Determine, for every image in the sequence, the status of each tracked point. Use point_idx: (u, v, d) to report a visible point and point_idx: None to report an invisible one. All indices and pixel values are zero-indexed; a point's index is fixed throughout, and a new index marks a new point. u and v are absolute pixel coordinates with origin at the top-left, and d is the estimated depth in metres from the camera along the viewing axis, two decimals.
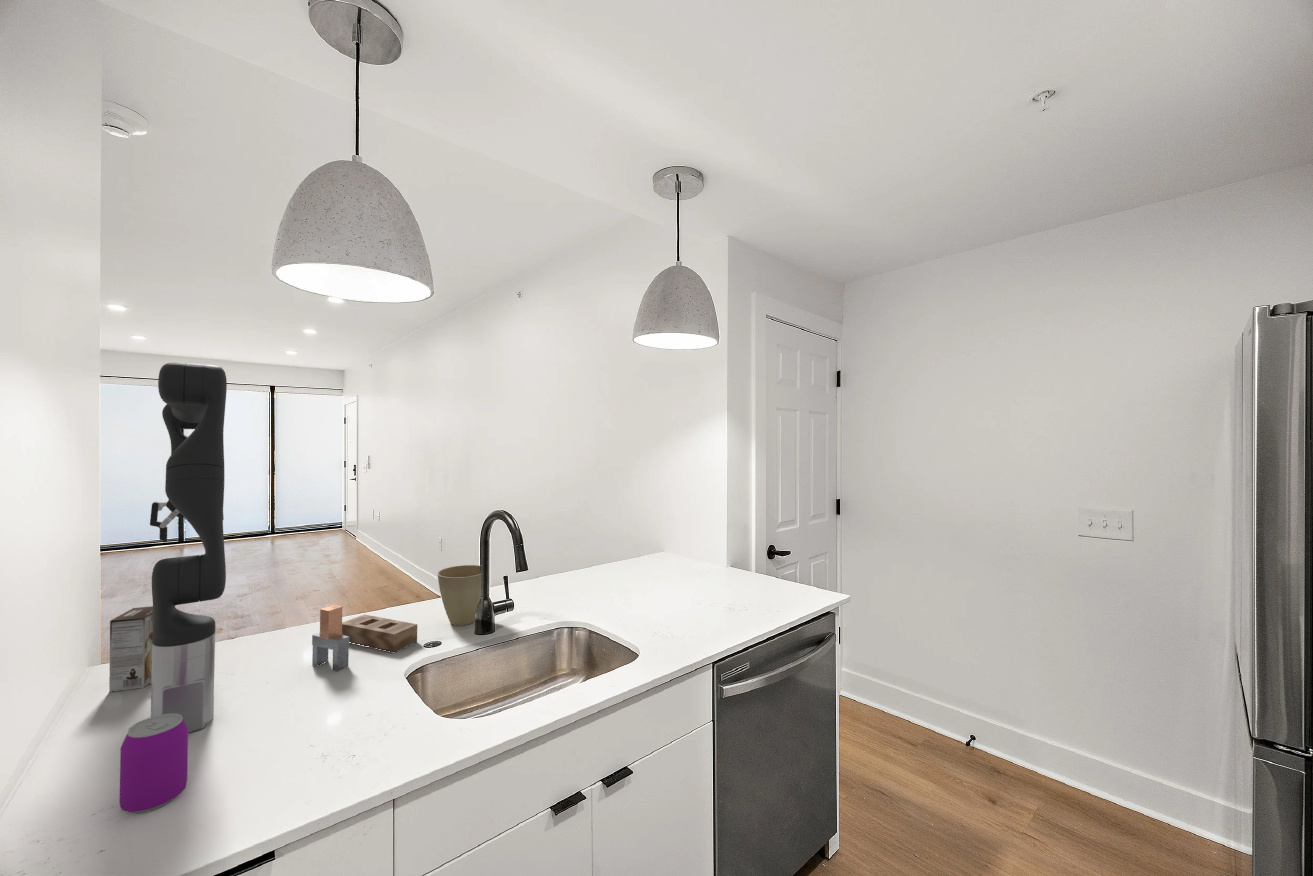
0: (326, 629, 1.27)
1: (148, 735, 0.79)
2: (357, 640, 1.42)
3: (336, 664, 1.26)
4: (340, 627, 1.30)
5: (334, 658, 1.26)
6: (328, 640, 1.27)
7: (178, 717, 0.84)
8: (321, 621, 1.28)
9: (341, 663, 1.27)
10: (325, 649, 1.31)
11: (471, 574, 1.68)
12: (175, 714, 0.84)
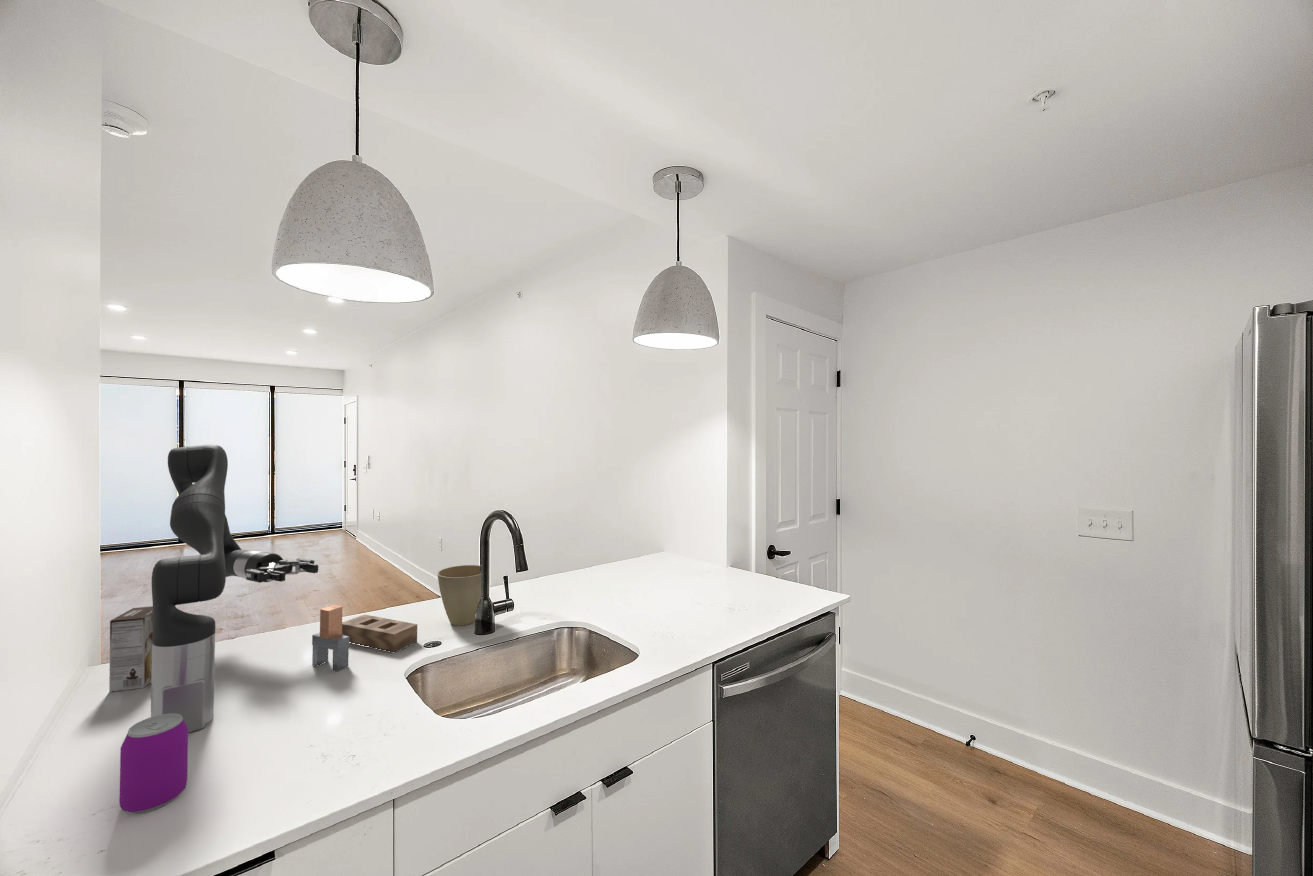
0: (326, 629, 1.27)
1: (148, 735, 0.79)
2: (357, 640, 1.42)
3: (336, 664, 1.26)
4: (340, 627, 1.30)
5: (334, 658, 1.26)
6: (328, 640, 1.27)
7: (178, 717, 0.84)
8: (321, 621, 1.28)
9: (341, 663, 1.27)
10: (325, 649, 1.31)
11: (471, 574, 1.68)
12: (175, 714, 0.84)
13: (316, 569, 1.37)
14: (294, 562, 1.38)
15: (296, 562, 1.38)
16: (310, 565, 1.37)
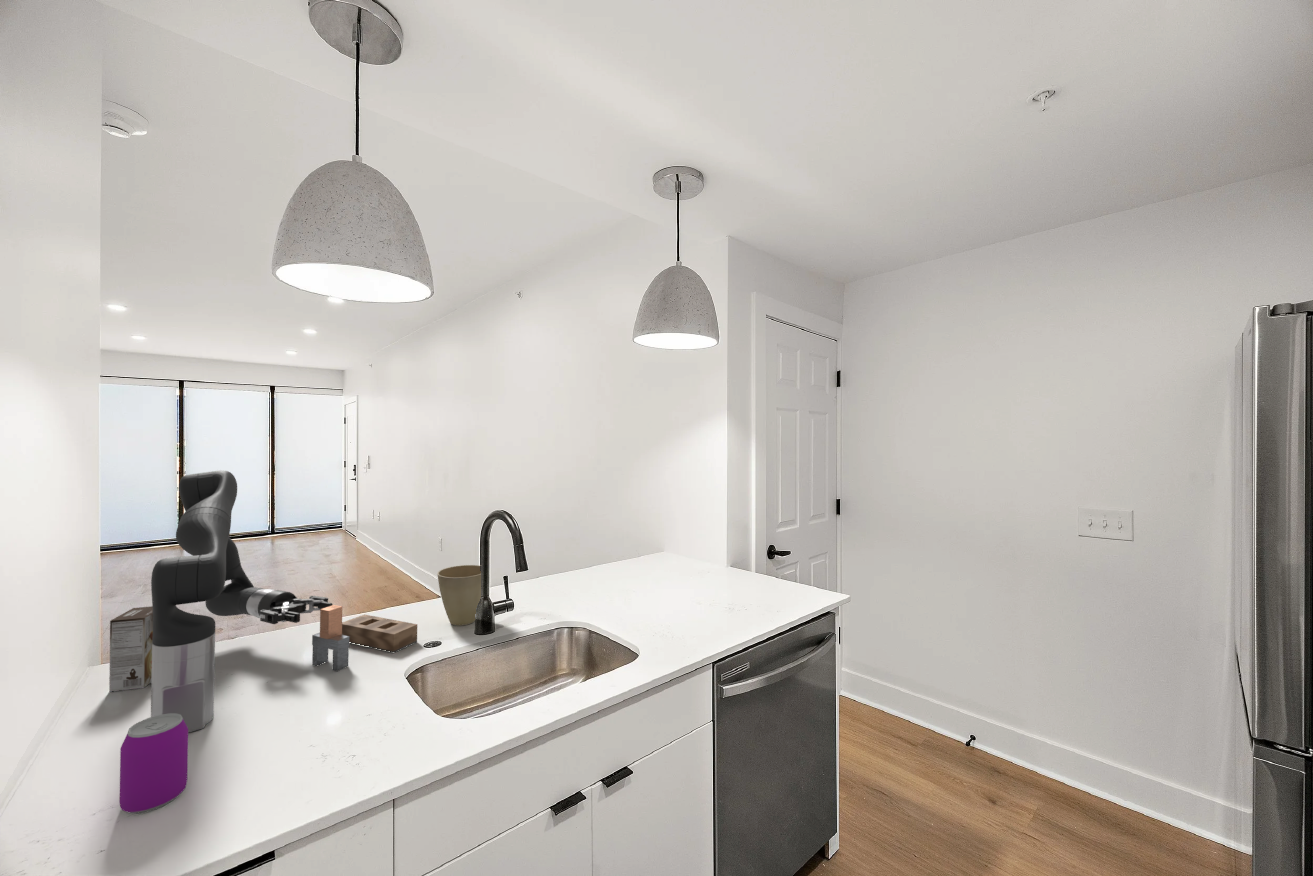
0: (326, 629, 1.27)
1: (148, 735, 0.79)
2: (357, 640, 1.42)
3: (336, 664, 1.26)
4: (340, 627, 1.30)
5: (334, 658, 1.26)
6: (328, 640, 1.27)
7: (178, 717, 0.84)
8: (321, 621, 1.28)
9: (341, 663, 1.27)
10: (325, 649, 1.31)
11: (471, 574, 1.68)
12: (175, 714, 0.84)
13: None
14: (308, 601, 1.35)
15: (310, 601, 1.36)
16: (324, 604, 1.35)
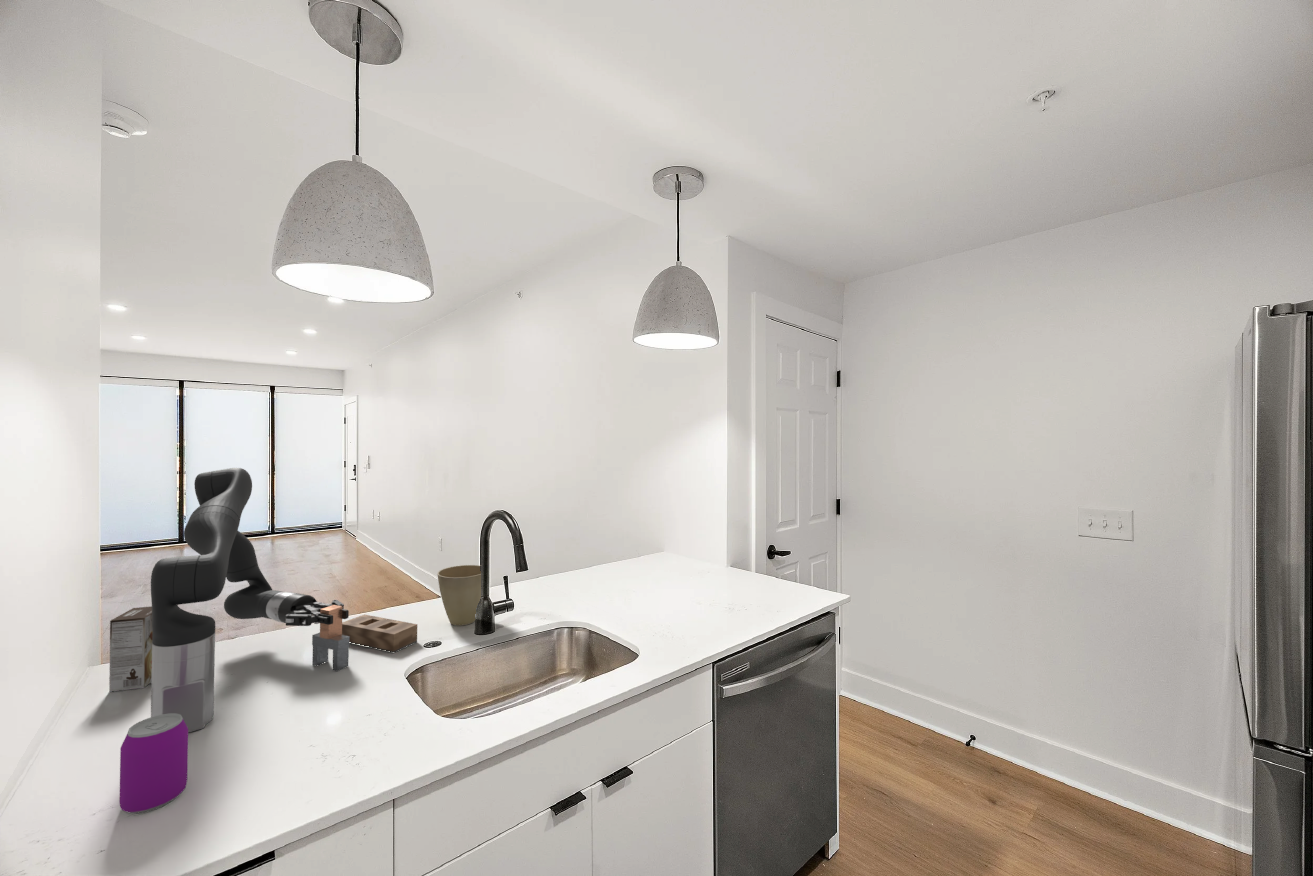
0: (326, 629, 1.27)
1: (148, 735, 0.79)
2: (357, 640, 1.42)
3: (336, 664, 1.26)
4: (340, 627, 1.30)
5: (334, 658, 1.27)
6: (328, 640, 1.27)
7: (178, 717, 0.84)
8: None
9: (341, 663, 1.27)
10: (325, 649, 1.31)
11: (471, 574, 1.68)
12: (175, 714, 0.84)
13: (346, 614, 1.30)
14: (325, 606, 1.32)
15: (326, 606, 1.32)
16: None
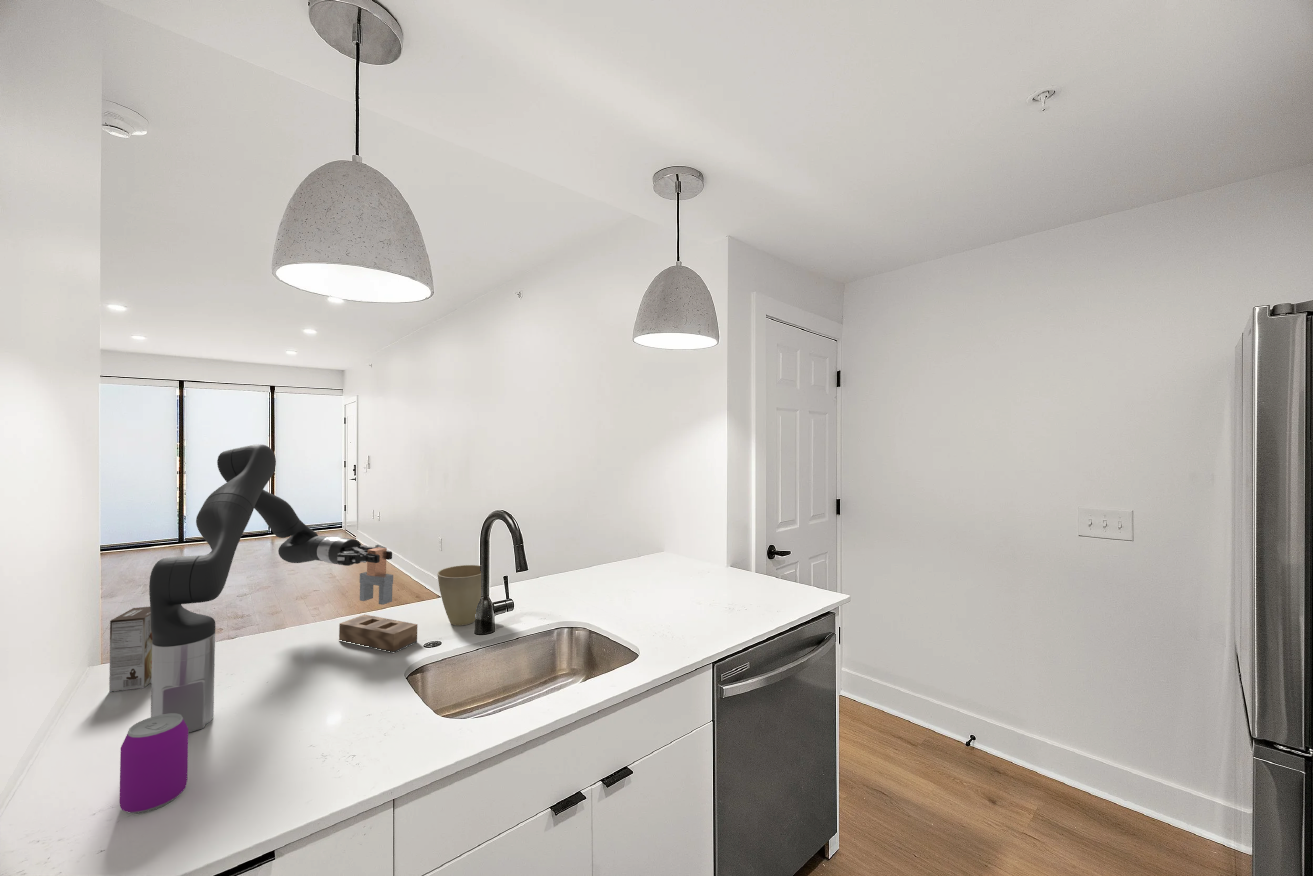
0: (373, 567, 1.42)
1: (148, 735, 0.79)
2: (357, 640, 1.42)
3: (382, 599, 1.41)
4: (384, 567, 1.45)
5: (380, 593, 1.41)
6: (374, 577, 1.42)
7: (178, 717, 0.84)
8: None
9: (386, 598, 1.42)
10: (371, 587, 1.45)
11: (471, 574, 1.68)
12: (175, 714, 0.84)
13: (390, 555, 1.45)
14: (370, 548, 1.46)
15: (372, 548, 1.46)
16: None
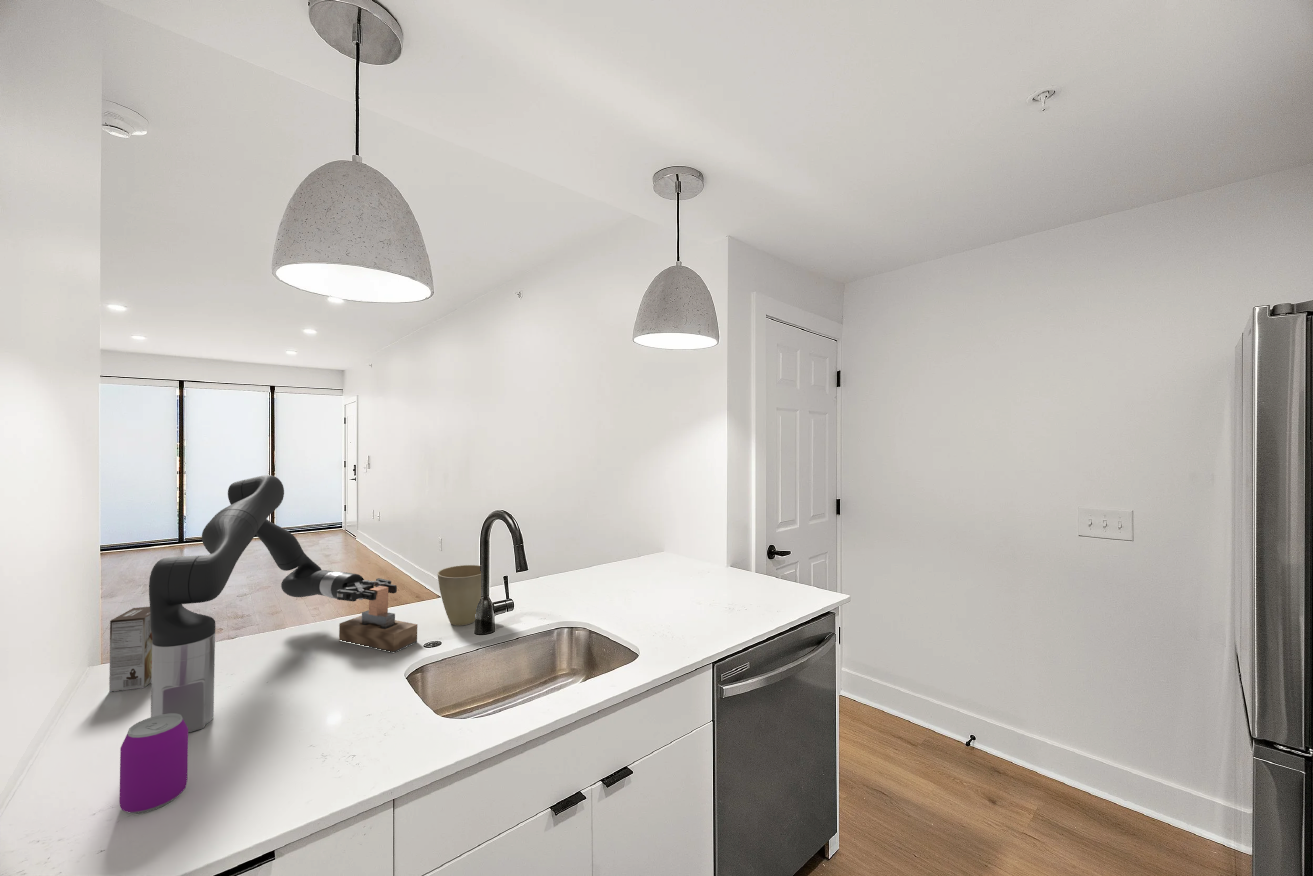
0: (375, 607, 1.42)
1: (148, 735, 0.79)
2: (357, 640, 1.42)
3: None
4: (386, 605, 1.45)
5: None
6: (376, 617, 1.43)
7: (178, 717, 0.84)
8: (370, 600, 1.43)
9: None
10: None
11: (471, 574, 1.68)
12: (175, 714, 0.84)
13: (395, 589, 1.47)
14: (374, 582, 1.48)
15: (376, 582, 1.48)
16: (389, 586, 1.47)
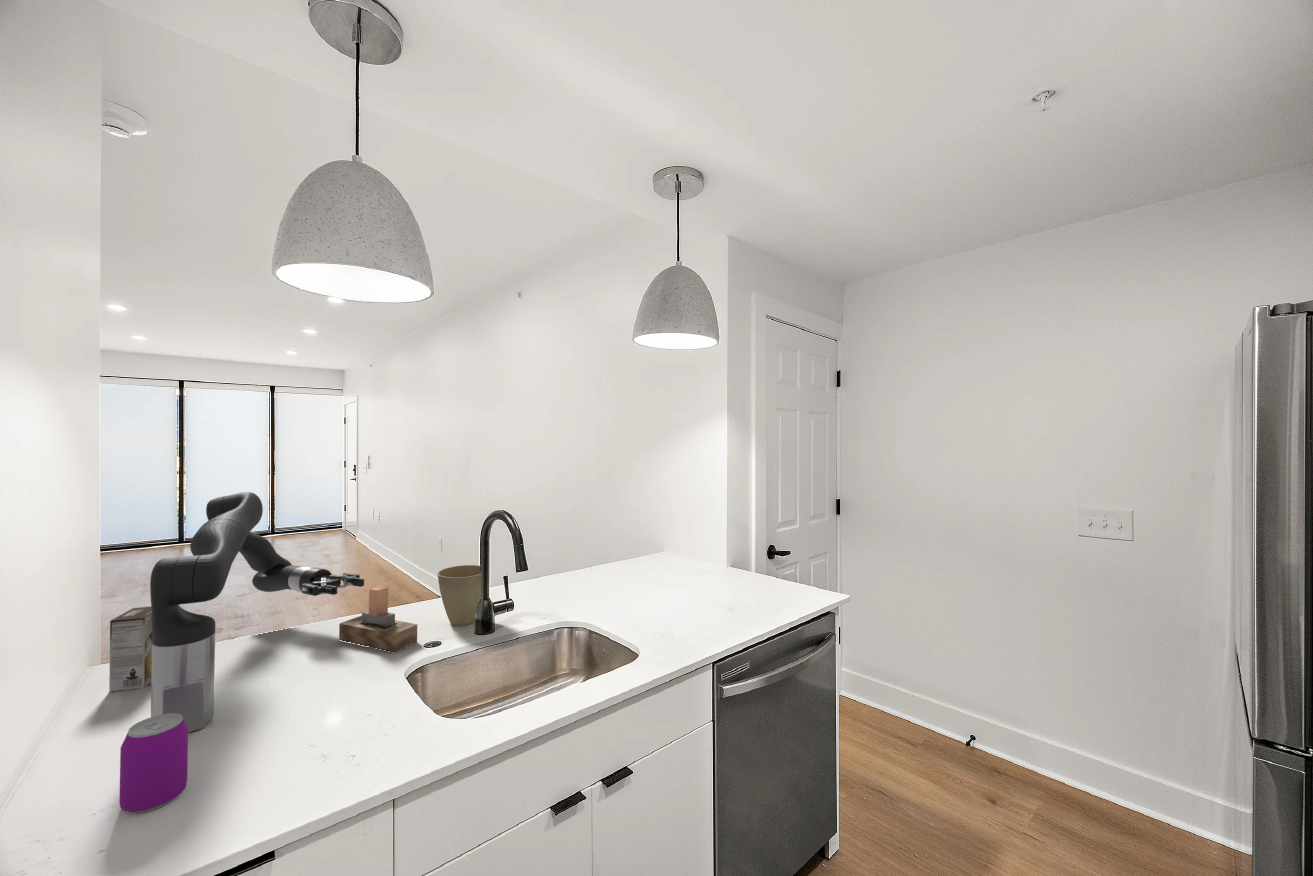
0: (375, 607, 1.42)
1: (148, 735, 0.79)
2: (357, 640, 1.42)
3: None
4: (386, 605, 1.45)
5: None
6: (376, 617, 1.43)
7: (178, 717, 0.84)
8: (370, 600, 1.43)
9: None
10: None
11: (471, 574, 1.68)
12: (175, 714, 0.84)
13: (362, 583, 1.52)
14: (342, 577, 1.53)
15: (344, 577, 1.53)
16: (357, 579, 1.53)
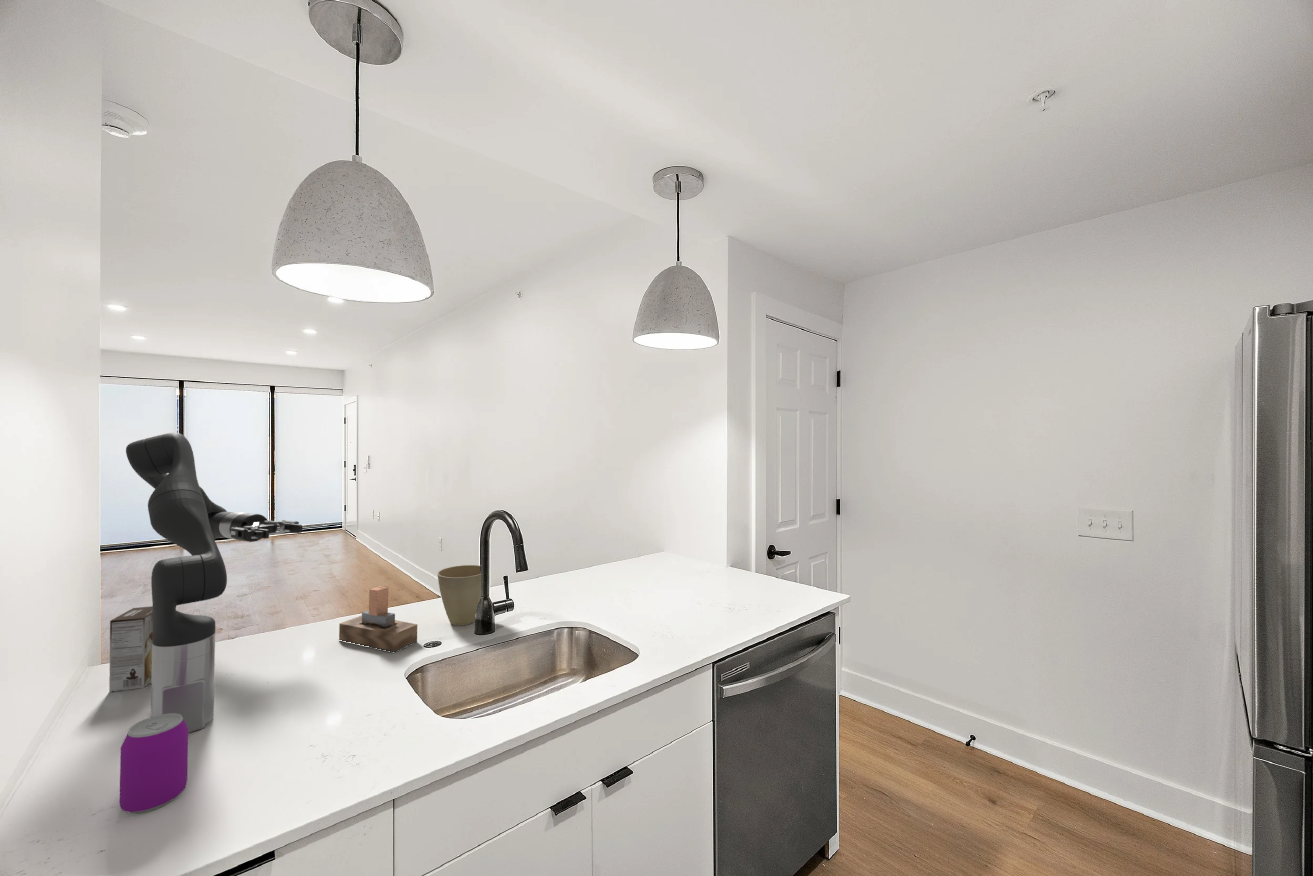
0: (375, 607, 1.42)
1: (148, 735, 0.79)
2: (357, 640, 1.42)
3: None
4: (386, 605, 1.45)
5: None
6: (376, 617, 1.43)
7: (178, 717, 0.84)
8: (370, 600, 1.43)
9: None
10: None
11: (471, 574, 1.68)
12: (175, 714, 0.84)
13: (300, 529, 1.40)
14: (278, 522, 1.40)
15: (280, 522, 1.41)
16: (294, 525, 1.40)
